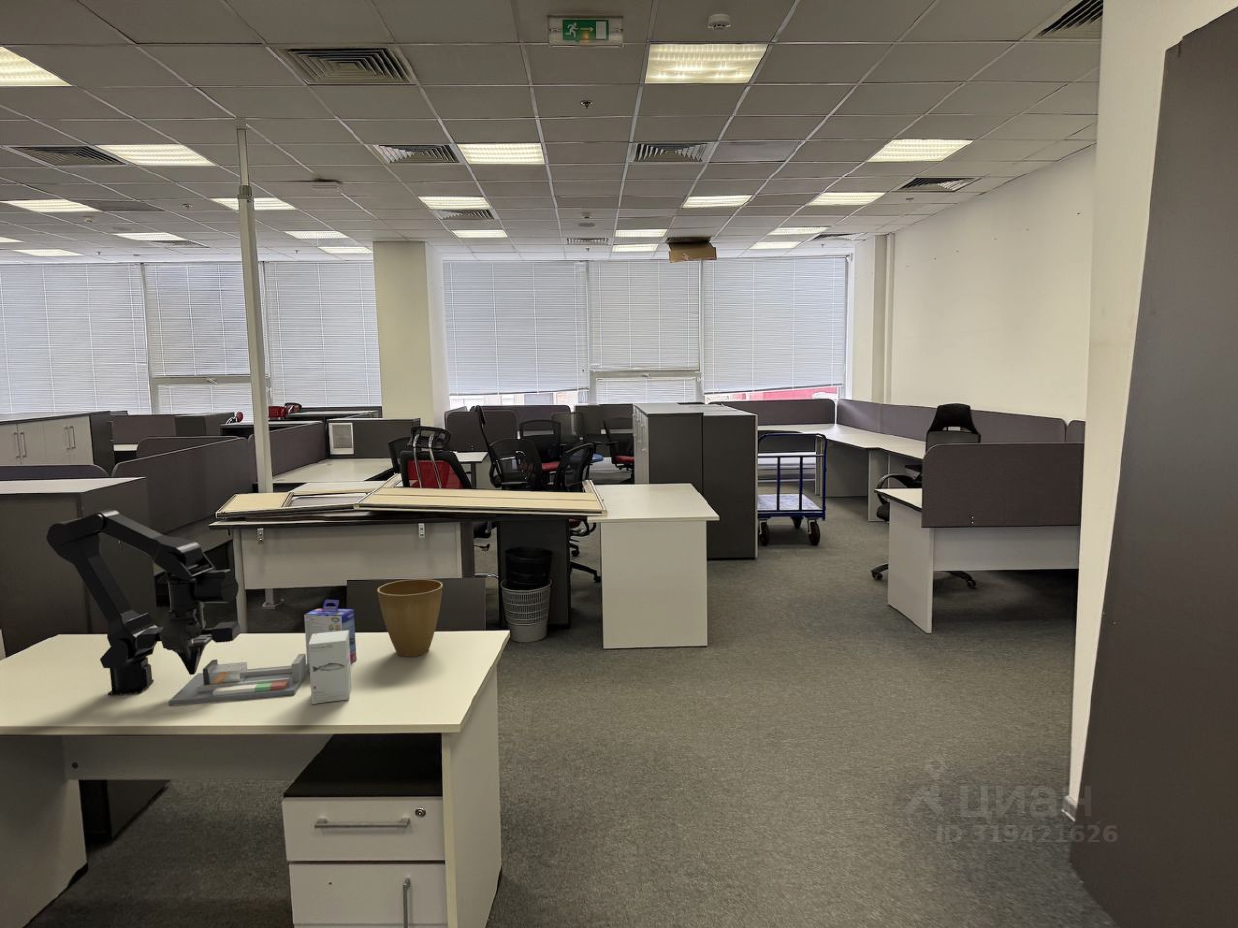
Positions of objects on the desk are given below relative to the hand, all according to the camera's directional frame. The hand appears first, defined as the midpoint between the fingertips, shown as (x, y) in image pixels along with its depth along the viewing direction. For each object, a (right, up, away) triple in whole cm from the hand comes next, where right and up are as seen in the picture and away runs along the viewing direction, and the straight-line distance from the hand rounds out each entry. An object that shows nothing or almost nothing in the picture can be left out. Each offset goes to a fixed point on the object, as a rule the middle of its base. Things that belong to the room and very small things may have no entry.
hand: (192, 674), depth 158 cm
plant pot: (+41, -1, +20) cm, 46 cm away
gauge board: (+10, -3, +2) cm, 11 cm away
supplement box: (+31, -3, -5) cm, 32 cm away
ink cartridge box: (+24, -2, +14) cm, 28 cm away
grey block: (+7, -2, -1) cm, 7 cm away
